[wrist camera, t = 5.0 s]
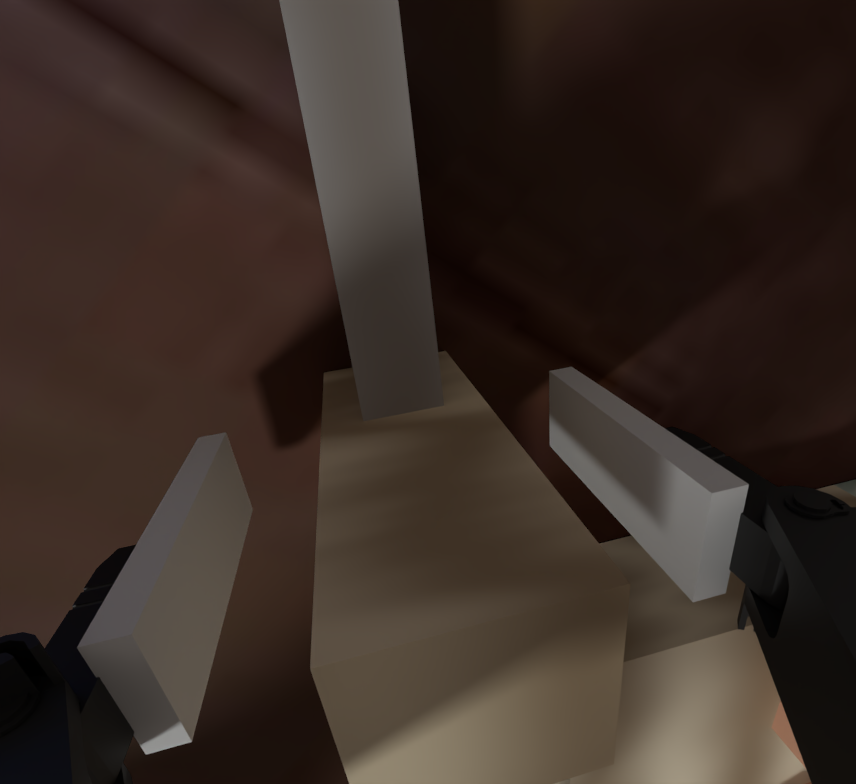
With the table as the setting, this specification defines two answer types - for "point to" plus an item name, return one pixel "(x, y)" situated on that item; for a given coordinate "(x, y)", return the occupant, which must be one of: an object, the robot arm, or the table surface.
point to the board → (693, 686)
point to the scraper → (432, 485)
